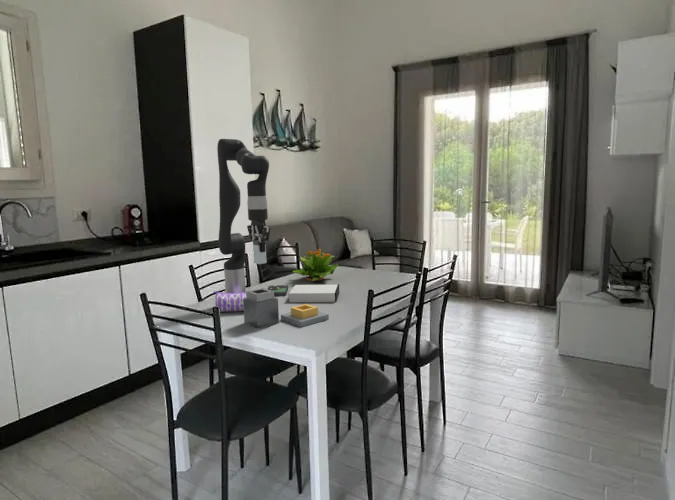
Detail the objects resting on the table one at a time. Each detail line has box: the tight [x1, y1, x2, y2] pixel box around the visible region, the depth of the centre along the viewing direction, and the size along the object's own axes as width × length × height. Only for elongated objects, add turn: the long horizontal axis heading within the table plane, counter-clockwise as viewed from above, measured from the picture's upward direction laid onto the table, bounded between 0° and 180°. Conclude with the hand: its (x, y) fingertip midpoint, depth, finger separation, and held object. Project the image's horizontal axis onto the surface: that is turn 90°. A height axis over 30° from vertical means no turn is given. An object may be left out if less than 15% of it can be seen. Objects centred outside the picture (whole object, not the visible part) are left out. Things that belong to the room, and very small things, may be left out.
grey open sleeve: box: [243, 287, 280, 329], centre depth 182 cm, size 10×10×13 cm
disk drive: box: [267, 284, 289, 297], centre depth 233 cm, size 10×3×15 cm
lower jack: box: [280, 303, 330, 328], centre depth 186 cm, size 14×14×5 cm
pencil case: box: [213, 290, 247, 313], centre depth 201 cm, size 22×9×10 cm, turn 103°
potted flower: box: [292, 248, 339, 283], centre depth 261 cm, size 25×24×18 cm
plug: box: [252, 240, 267, 265], centre depth 179 cm, size 4×4×9 cm
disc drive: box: [288, 283, 340, 303], centre depth 221 cm, size 18×22×5 cm
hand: (259, 251), depth 179 cm, fingers closed on plug, 3 cm apart
